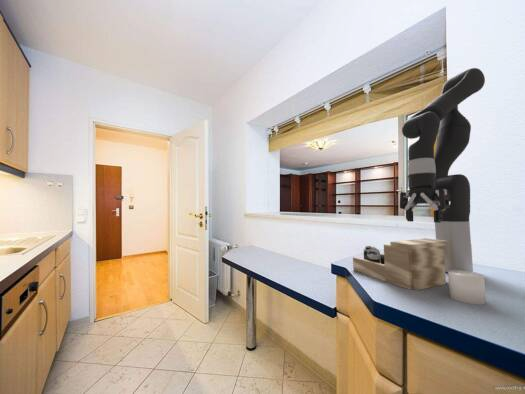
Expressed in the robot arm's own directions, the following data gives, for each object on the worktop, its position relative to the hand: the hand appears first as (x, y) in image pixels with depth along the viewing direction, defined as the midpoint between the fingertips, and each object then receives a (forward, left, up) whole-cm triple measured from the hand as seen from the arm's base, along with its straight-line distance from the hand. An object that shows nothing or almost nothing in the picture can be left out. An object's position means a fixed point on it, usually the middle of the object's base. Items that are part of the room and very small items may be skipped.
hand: (423, 222), depth 72 cm
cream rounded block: (+10, +16, -17) cm, 26 cm away
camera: (+9, -10, -18) cm, 23 cm away
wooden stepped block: (+9, -3, -17) cm, 20 cm away
